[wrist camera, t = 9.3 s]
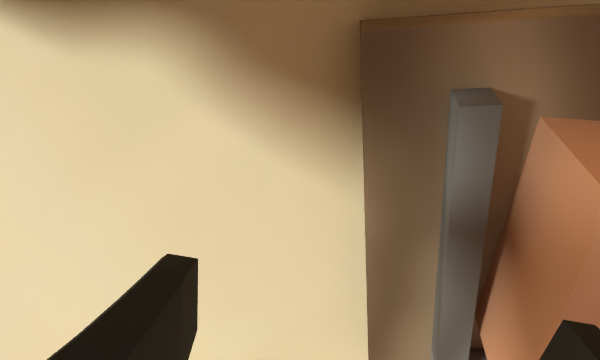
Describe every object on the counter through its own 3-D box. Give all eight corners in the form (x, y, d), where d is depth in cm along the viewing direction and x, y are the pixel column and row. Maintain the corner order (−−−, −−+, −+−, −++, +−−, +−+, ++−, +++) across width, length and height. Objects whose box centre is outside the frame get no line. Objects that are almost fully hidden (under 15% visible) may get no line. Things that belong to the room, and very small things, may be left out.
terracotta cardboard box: (474, 314, 19) (507, 430, 15) (539, 116, 15) (614, 201, 11) (572, 325, 19) (634, 446, 15) (670, 126, 15) (801, 217, 10)
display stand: (368, 348, 23) (369, 402, 21) (360, 21, 15) (360, 43, 13) (673, 355, 21) (716, 416, 19) (844, -14, 13) (959, 4, 11)
